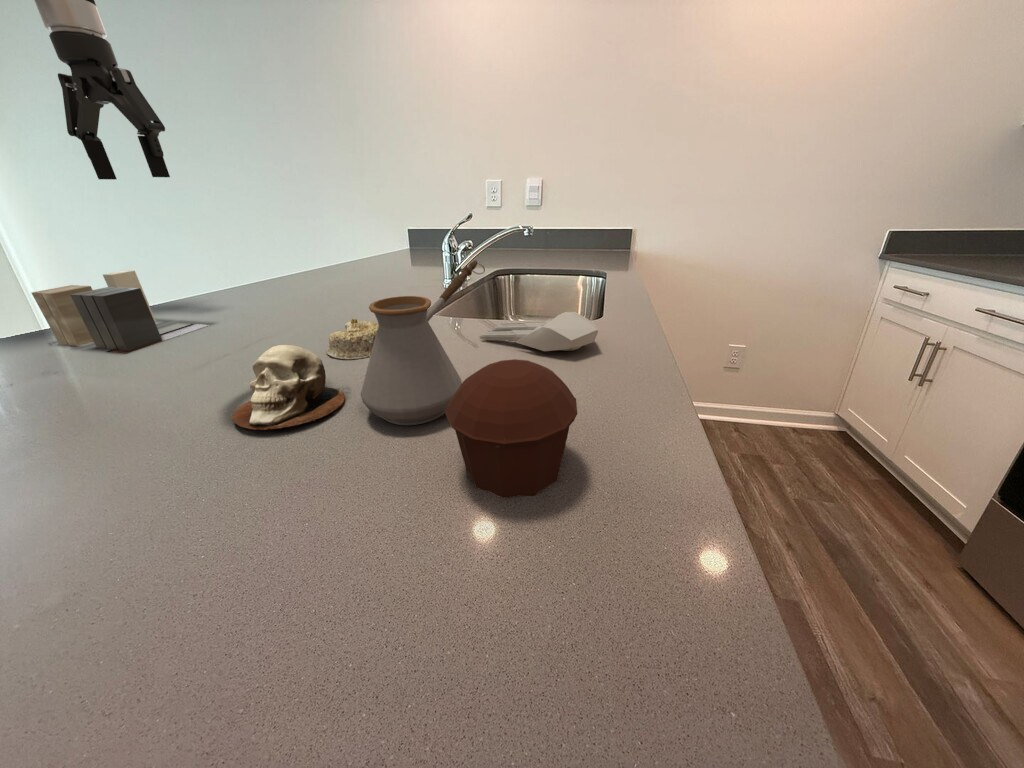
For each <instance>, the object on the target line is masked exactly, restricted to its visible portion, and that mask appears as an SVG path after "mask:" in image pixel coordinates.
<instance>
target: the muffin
mask: <svg viewBox="0 0 1024 768" xmlns="http://www.w3.org/2000/svg"><path fill="white" fill-rule="evenodd" d="M444 414H445V416H446V418H447V421H448V423H449V425H450V427H451V428H452V429H453V430H454V431H455V435H456V438H457V442H458V445H459V446H458V447H459V449H460V452H461V456H462V459H463V463H464V467H465V470H466V471H467V473H468V474H469V476H470V477H471V479H472V481H473V484H474V487H475V489H479V490H481V491H485V492H489V493H491V494H493V495H495V496H497V497H499V498H501V499H508V498H514V497H527V496H528V497H529V496H530V497H531V496H537V495H538V494H539V493H540V492H542V491H543V490H545V488H548V487H549V486H551V485H552V484H555V483H557V482H558V480H559V475H560V470H561V468H562V467H561V466H562V462H563V457H564V454H565V453H564V452H565V449H566V444H567V440H568V435H569V430H570V426H571V425H572V424H573V423H574V422H575V420H576V418H577V416H578V403H577V398H576V397H575V396H574V394H573V393H572V391H571V390H570V388H569V387H568V385H567V384H566V383H565V382H564V381H563V380H562V379H561V378H560V377H559V376H558V374H556V373H555V372H554V371H553V370H552V369H550V368H548V367H547V366H543V365H541V364H539V363H537V362H533V361H531V360H527V359H516V358H515V359H505V360H504V359H503V360H499V361H496V362H492V363H488V364H487V365H485V366H483V367H482V368H480V369H478V370H477V371H475V372H474V373H472V374H470V375H469V376H467V378H465V379H464V380H463V381H462V384H461V386H460V387H459V388H458V390H457V391H456V393H455V395H454V396H453V397H452V398H451V400H450V402H449V405H448V407H447V409H446V411H445V413H444Z"/></svg>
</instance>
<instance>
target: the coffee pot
mask: <svg viewBox="0 0 1024 768" xmlns="http://www.w3.org/2000/svg"><path fill="white" fill-rule="evenodd" d="M478 265H479V266H481V268H482V269H483V272H477V271H475V269H476V267H477V266H478ZM485 272H486V268H485V266H484V265H483V264H482V263H480V262H479V261H478V260H475V259H474V260H473V261H471V262H470V263H469V264H468V266H464V268H463V269H462V272H460V273H459V274H458V275H456V277H453V279H452V281H451V282H450V283H449V284H448V285H447V287H446V288H445V290H444V291H443V292H442V293H441V295H440V296H439V297H438V299H437V300H436V301H435V302H434V303H433V304H432V301H431V299H430V298H428V297H425V296H417V295H402V296H401V295H400V296H391V297H386V298H382V299H378V300H375V301H373V302H371V303H370V304H369V306H368V310H369V311H370V312H371V313H373V314H374V316H375V318H376V320H377V323H378V324H379V326H378V329H377V333H376V337H375V341H374V345H373V349H372V352H371V356H370V357H369V361H368V363H367V364H368V365H367V368H366V371H365V375H364V379H363V384H362V387H361V391H360V397H361V401H362V403H363V404H364V406H365V407H366V408H367V409H368V410H369V411H370V412H371V413H372V414H373V415H375V416H377V417H379V418H381V419H383V420H386V422H388V423H391V424H394V425H398V426H415V425H422V424H425V423H429V422H432V421H434V420H437V419H438V418H440V417H441V416H443V415H444V414H445V411H446V409H447V407H448V405H449V402H450V400H451V398H452V397H453V396H454V395H455V393H456V391H457V390H458V388H459V387H460V386H461V384H462V383H463V381H462V378H461V376H460V375H459V373H458V371H457V370H456V368H455V366H454V364H453V362H452V361H451V359H450V357H449V356H448V354H447V352H446V350H445V348H444V347H443V344H441V342H440V340H439V338H438V337H437V335H436V333H435V331H434V329H433V328H432V326H431V324H430V322H429V321H430V320H431V319H432V318H433V316H435V314H436V313H437V312H438V310H440V308H441V307H442V306H443V305H444V303H446V302H447V301H448V300H449V299H450V298H451V297H452V296H453V295H454V294H455V293H456V292H457V291H458V290H459V289H460V288H461V287H462V286H463V285H464V283H465V281H466V280H467V278H468V277H470V276H472V275H473V273H474V274H475V275H483V274H484V273H485Z"/></svg>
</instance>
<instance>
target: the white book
mask: <svg viewBox="0 0 1024 768" xmlns="http://www.w3.org/2000/svg"><path fill="white" fill-rule="evenodd" d="M102 277H103V278H104V281H105V283H106V287H126V288H140V289H141V291H142V293H143V296H144V298H145V300H146V303H147V305H148V307H149V310H150V312H151V314H152V317H153V319H154V322H155V323H156V322H157V320H156V317H155V316H154V313H153V310H152V308H151V306H150V304H149V301H148V299H147V297H146V296H147V295H146V293H145V291H144V289H143V287H142V284H141V282H140V279H139V277H138V275H137V273H136V270H127V269H126V270H120V271H113V272H108V273H103V274H102Z"/></svg>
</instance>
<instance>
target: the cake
mask: <svg viewBox="0 0 1024 768" xmlns="http://www.w3.org/2000/svg"><path fill="white" fill-rule="evenodd" d="M378 326H379V323H378V322H375V321H371V320H370V321H369V320H363V321H359V320H358V319H357V318H356V319H354V318H351V319H350V321H348V322H346V323H345V324H344V328H345V330H338V331H335V332H332V333H330V334H329V335H328V346H327V347H326V348H325V353H326V354H327V355H329V357H332V358H336V359H341V360H356V359H358V360H359V359H365V358H368V357H369V358H370V356H371V352H372V349H373V345H374V341H375V337H376V333H377V329H378Z"/></svg>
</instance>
